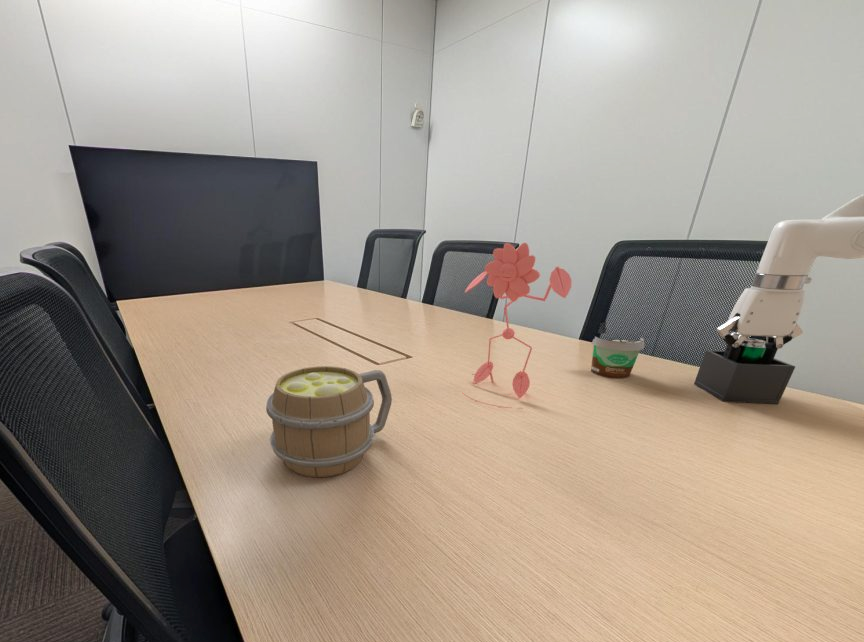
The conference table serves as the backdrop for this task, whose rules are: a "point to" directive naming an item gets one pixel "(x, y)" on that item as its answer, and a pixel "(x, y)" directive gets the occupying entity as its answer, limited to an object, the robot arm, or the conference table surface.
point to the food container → (615, 357)
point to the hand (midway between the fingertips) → (745, 362)
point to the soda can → (752, 351)
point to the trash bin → (743, 379)
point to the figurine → (515, 297)
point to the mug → (325, 418)
